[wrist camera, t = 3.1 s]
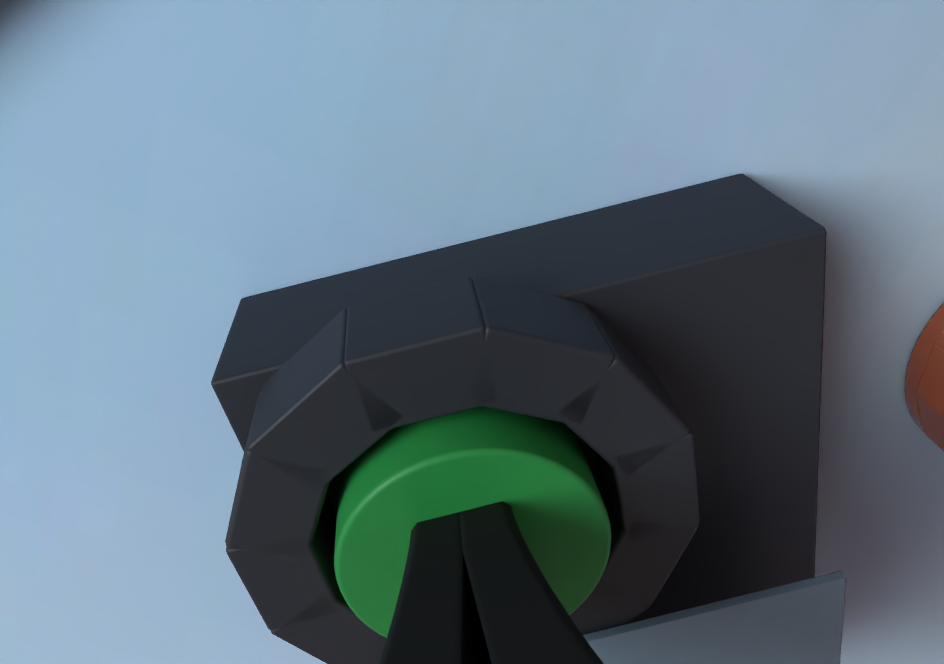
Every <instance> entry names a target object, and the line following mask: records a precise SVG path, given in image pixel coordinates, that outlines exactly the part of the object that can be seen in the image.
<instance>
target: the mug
mask: <svg viewBox="0 0 944 664" xmlns="http://www.w3.org/2000/svg"><path fill="white" fill-rule="evenodd" d="M905 397H906V403H907V406H908V409H909V412H910V415H911V416H912V418H913V420H914V422H915V423H916V424H917V426H918V427H919V428H920V429H921V430H922V431H923V432H924V433H925V435H926V436H928V437H929V438H930V439H931V440H932V441H933V442H934V443H935V444H936V445H937V446H938V447H940V448H941V449H942V450H943V451H944V303H943V304H942V305H941V306H940V307H939V309H938V310H937V311H936V312H935V314H934V315H933V316H932V318H931V319H930V320H929V322H928V323H927V325H926V326H925V328H924V330H923V331H922V333H921V335H920V336H919V338H918V340H917V342H916V344H915V346H914V349H913V351H912V353H911V356H910V359H909V363H908V366H907V371H906V377H905Z"/></svg>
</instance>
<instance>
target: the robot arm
mask: <svg viewBox="0 0 944 664" xmlns="http://www.w3.org/2000/svg"><path fill="white" fill-rule="evenodd" d="M379 664H604V663H603V662H602V661H601V659H600V658H599V657H598V655H597V654H596V653H595V651H594V650H593V649H592V647H591V646H590V645H589V643H588V642H587V640H586V639H585V638H584V636H583V635H582V633H581V632H580V631H579V629H578V628H577V626H576V625H575V623H574V622H573V620H572V619H571V617H570V616H569V614H568V613H567V611H566V610H565V608H564V607H563V605H562V604H561V602H560V601H559V599H558V598H557V596H556V595H555V593H554V592H553V590H552V588H551V587H550V585H549V584H548V582H547V580H546V579H545V577H544V575H543V574H542V572H541V570H540V568H539V566H538V565H537V563H536V561H535V559H534V558H533V556H532V554H531V552H530V550H529V548H528V546H527V544H526V542H525V540H524V538H523V536H522V534H521V532H520V530H519V527H518V525H517V522H516V520H515V517H514V514H513V511H512V507H511V505H509V504H506V503H504V502H502V501H501V502H497V503H493V504H489V505H485V506H481V507H477V508H473V509H469V510H465V511H461V512H457V513H453V514H449V515H445V516H441V517H437V518H433V519H429V520H425V521H421V522H417V523H416V525H415V526H414V527H413V529H412V530H411V536H410V544H409V549H408V555H407V560H406V565H405V570H404V574H403V579H402V583H401V587H400V591H399V595H398V599H397V603H396V607H395V611H394V615H393V618H392V622H391V625H390V628H389V632H388V635H387V639H386V642H385V646H384V649H383V652H382V656H381V659H380V663H379Z"/></svg>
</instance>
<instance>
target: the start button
mask: <svg viewBox="0 0 944 664" xmlns="http://www.w3.org/2000/svg"><path fill="white" fill-rule="evenodd" d="M501 501H502V502H504V503H506V504H509V505H511V507H512V511H513V514H514V517H515V520H516V522H517V525H518V527H519V530H520V532H521V534H522V536H523V538H524V540H525V542H526V544H527V546H528V548H529V550H530V552H531V554H532V556H533V558H534V559H535V561H536V563H537V565H538V566H539V568H540V570H541V572H542V574H543V575H544V577H545V579H546V580H547V582H548V584H549V585H550V587H551V588H552V590H553V592H554V593H555V595H556V596H557V598H558V599H559V601H560V602H561V604H562V605H563V607H564V608H565V610H566V611H567V613H568V614H569V615H570V614H572V613H573V612H574V611H575V610H576V609H577V608H578V607H579V606H580V605H581V604H582V603H583V602H584V601H585V600H586V599H587V598H588V596H589V595H590V594H591V593H592V592H593V590H594V589H595V587H596V585H597V584H598V582H599V581H600V579H601V577H602V575H603V572H604V570H605V568H606V565H607V562H608V558H609V554H610V547H611V524H610V520H609V517H608V513H607V510H606V507H605V505H604V502H603V500H602V497H601V495H600V492H599V490H598V487H597V485H596V482H595V480H594V477H593V475H592V472H591V470H590V467H589V465H588V462H587V460H586V457H585V455H584V453H583V450H582V448H581V445H580V443H579V440H578V438H577V435H576V433H575V432H573V431H572V430H571V429H570V428H569V427H568V426H567V425H566V424H565V423H563V422H558V421H553V420H548V419H543V418H538V417H533V416H528V415H522V414H517V413H512V412H507V411H502V410H497V409H492V408H487V407H482V406H481V407H477V408H473V409H469V410H465V411H461V412H457V413H453V414H449V415H445V416H441V417H437V418H433V419H429V420H425V421H421V422H417V423H413V424H409V425H405V426H401V427H397V428H393V429H391V430H390V431H389V432H388V433H386V434H385V435H384V436H383V437H382V438H380V439H379V440H378V441H377V442H376V443H375V444H373V445H372V446H371V447H370V448H369V449H367V450H366V451H365V452H364V453H363V454H362V455H360V456H359V457H358V458H357V459H356V460H354V461H353V462H352V463H351V464H350V465H348V466H347V467H346V468H345V469H344V470H343V471H341V472H340V473H339V489H338V504H337V520H336V536H335V552H334V569H335V575H336V580H337V583H338V586H339V589H340V592H341V593H342V595H343V597H344V599H345V601H346V602H347V604H348V606H349V607H350V609H351V610H352V611H353V612H354V613H355V615H356V616H357V617H358V618H359V619H360V620H361V621H362V622H363V623H365V624H366V625H367V626H368V627H369V628H371V629H372V630H374V631H375V632H377V633H378V634H380V635H382V636H384V637H386V638H387V635H388V632H389V628H390V625H391V622H392V618H393V615H394V611H395V607H396V603H397V599H398V595H399V591H400V587H401V583H402V579H403V574H404V570H405V565H406V560H407V555H408V549H409V544H410V536H411V530H412V529H413V527H414V526H415V525H416V523H417V522H421V521H425V520H429V519H433V518H437V517H441V516H445V515H449V514H453V513H457V512H461V511H465V510H469V509H473V508H477V507H481V506H485V505H489V504H493V503H497V502H501Z"/></svg>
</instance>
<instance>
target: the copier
mask: <svg viewBox="0 0 944 664" xmlns="http://www.w3.org/2000/svg"><path fill="white" fill-rule="evenodd" d="M825 261H826V230H825V228H824V227H822V226H821V225H819V224H818V223H816V222H815V221H813V220H812V219H810V218H809V217H807V216H806V215H804V214H803V213H801V212H800V211H798V210H797V209H795V208H794V207H792V206H791V205H789V204H787V203H786V202H784V201H783V200H781V199H780V198H778V197H777V196H775V195H774V194H772V193H771V192H769V191H768V190H766V189H765V188H763V187H762V186H760V185H759V184H757V183H756V182H754V181H753V180H751V179H750V178H748V177H747V176H745V175H744V174H737V175H733V176H729V177H725V178H721V179H717V180H713V181H709V182H705V183H701V184H697V185H693V186H689V187H685V188H681V189H677V190H673V191H669V192H665V193H661V194H657V195H653V196H649V197H645V198H641V199H637V200H633V201H629V202H625V203H621V204H617V205H613V206H609V207H605V208H601V209H597V210H593V211H589V212H585V213H581V214H577V215H573V216H569V217H565V218H561V219H557V220H553V221H549V222H545V223H541V224H537V225H533V226H529V227H525V228H521V229H517V230H513V231H509V232H505V233H501V234H497V235H493V236H489V237H485V238H481V239H477V240H473V241H469V242H465V243H461V244H457V245H453V246H449V247H445V248H441V249H437V250H433V251H429V252H425V253H421V254H417V255H413V256H409V257H405V258H401V259H397V260H393V261H389V262H385V263H381V264H377V265H373V266H369V267H365V268H361V269H357V270H353V271H349V272H345V273H341V274H337V275H333V276H329V277H325V278H321V279H317V280H313V281H309V282H305V283H301V284H297V285H293V286H289V287H285V288H281V289H277V290H273V291H269V292H265V293H261V294H257V295H253V296H249V297H245V298H242V299H241V301H240V303H239V306H238V309H237V312H236V315H235V317H234V320H233V323H232V326H231V328H230V331H229V334H228V337H227V340H226V342H225V345H224V348H223V351H222V353H221V356H220V359H219V362H218V365H217V367H216V370H215V373H214V376H213V378H212V381H211V385H212V387H213V389H214V391H215V393H216V395H217V397H218V399H219V401H220V403H221V405H222V407H223V409H224V411H225V414H226V416H227V418H228V420H229V422H230V424H231V426H232V428H233V430H234V432H235V434H236V436H237V438H238V440H239V442H240V444H241V447H242V449H243V451H244V456H243V461H242V465H241V470H240V475H239V479H238V484H237V489H236V494H235V498H234V503H233V508H232V512H231V517H230V522H229V526H228V531H227V536H226V541H225V542H226V546H227V547H226V552H227V554H228V556H229V558H230V560H231V562H232V563H233V565H234V567H235V569H236V571H237V573H238V574H239V576H240V578H241V580H242V582H243V583H244V585H245V587H246V589H247V591H248V592H249V594H250V596H251V598H252V600H253V602H254V603H255V605H256V607H257V609H258V611H259V612H260V614H261V616H262V618H263V620H264V621H265V623H266V625H267V627H268V629H270V630H271V632H272V634H274V635H276V636H277V637H279V638H281V639H283V640H285V641H287V642H288V643H290V644H292V645H294V646H296V647H298V648H299V649H301V650H303V651H305V652H307V653H309V654H310V655H312V656H314V657H316V658H318V659H320V660H321V661H323V662H325V663H327V664H379V663H380V659H381V656H382V652H383V649H384V646H385V642H386V639H387V638H386V637H384V636H382V635H380V634H378V633H377V632H375V631H374V630H372V629H371V628H369V627H368V626H367V625H366V624H365V623H363V622H362V621H361V620H360V619H359V618H358V617H357V616H356V615H355V613H354V612H353V611H352V610H351V609H350V607H349V606H348V604H347V602H346V601H345V599H344V597H343V595H342V593H341V592H340V589H339V586H338V583H337V580H336V575H335V569H334V552H335V536H336V520H337V504H338V489H339V473H340V472H341V471H343V470H344V469H345V468H346V467H347V466H348V465H350V464H351V463H352V462H353V461H354V460H356V459H357V458H358V457H359V456H360V455H362V454H363V453H364V452H365V451H366V450H367V449H369V448H370V447H371V446H372V445H373V444H375V443H376V442H377V441H378V440H379V439H380V438H382V437H383V436H384V435H385V434H386V433H388V432H389V431H390V430H391V429H393V428H397V427H401V426H405V425H409V424H413V423H417V422H421V421H425V420H429V419H433V418H437V417H441V416H445V415H449V414H453V413H457V412H461V411H465V410H469V409H473V408H477V407H481V406H482V407H487V408H492V409H497V410H502V411H507V412H512V413H517V414H522V415H528V416H533V417H538V418H543V419H548V420H553V421H558V422H563V423H565V424H566V425H567V426H568V427H569V428H570V429H571V430H572V431H573V432H575V433H576V435H577V438H578V440H579V443H580V445H581V448H582V450H583V453H584V455H585V457H586V460H587V462H588V465H589V467H590V470H591V472H592V475H593V477H594V480H595V482H596V485H597V487H598V490H599V492H600V495H601V497H602V500H603V502H604V505H605V507H606V510H607V513H608V517H609V520H610V524H611V547H610V554H609V558H608V562H607V565H606V568H605V570H604V572H603V575H602V577H601V579H600V581H599V582H598V584H597V585H596V587H595V589H594V590H593V592H592V593H591V594H590V595H589V596H588V598H587V599H586V600H585V601H584V602H583V603H582V604H581V605H580V606H579V607H578V608H577V609H576V610H575V611H574V612H573V613H572V614H570V615H569V616H570V617H571V619H572V620H573V622H574V623H575V625H576V626H577V628H578V629H579V631H580V632H581V633H582V635H585V634H589V633H593V632H597V631H601V630H605V629H609V628H613V627H617V626H621V625H625V624H629V623H633V622H637V621H641V620H645V619H649V618H653V617H657V616H662V615H666V614H670V613H674V612H678V611H682V610H686V609H690V608H694V607H698V606H702V605H706V604H710V603H714V602H718V601H722V600H726V599H730V598H734V597H738V596H742V595H746V594H750V593H754V592H758V591H762V590H766V589H770V588H774V587H778V586H782V585H786V584H790V583H794V582H798V581H802V580H806V579H810V578H814V574H815V545H816V517H817V489H818V460H819V432H820V403H821V375H822V346H823V318H824V289H825Z"/></svg>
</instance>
